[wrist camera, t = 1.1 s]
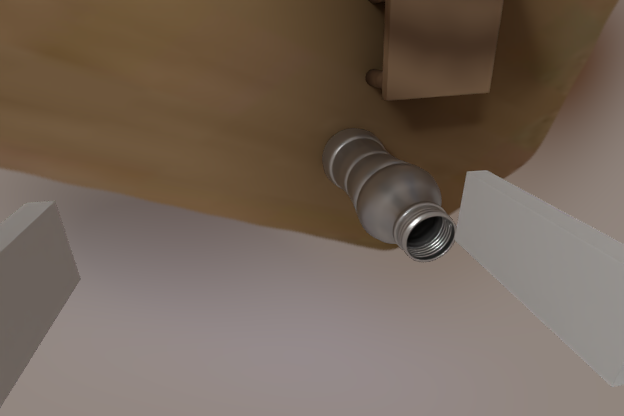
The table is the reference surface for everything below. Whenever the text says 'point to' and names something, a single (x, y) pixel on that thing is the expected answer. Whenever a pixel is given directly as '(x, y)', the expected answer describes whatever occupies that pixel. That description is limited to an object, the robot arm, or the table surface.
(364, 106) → the table surface
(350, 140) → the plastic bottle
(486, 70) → the brown piece
